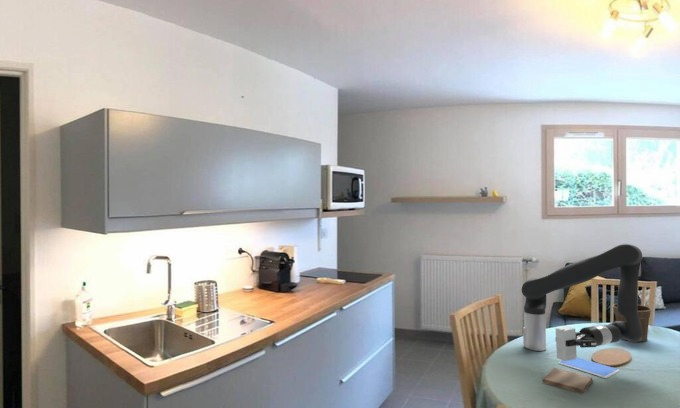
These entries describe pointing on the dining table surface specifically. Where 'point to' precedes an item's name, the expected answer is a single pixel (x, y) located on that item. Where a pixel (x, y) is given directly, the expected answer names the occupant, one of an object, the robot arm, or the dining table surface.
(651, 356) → the dining table surface
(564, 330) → the skincare box
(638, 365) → the dining table surface
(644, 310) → the plant pot
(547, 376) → the walnut board
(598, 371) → the tablet computer
